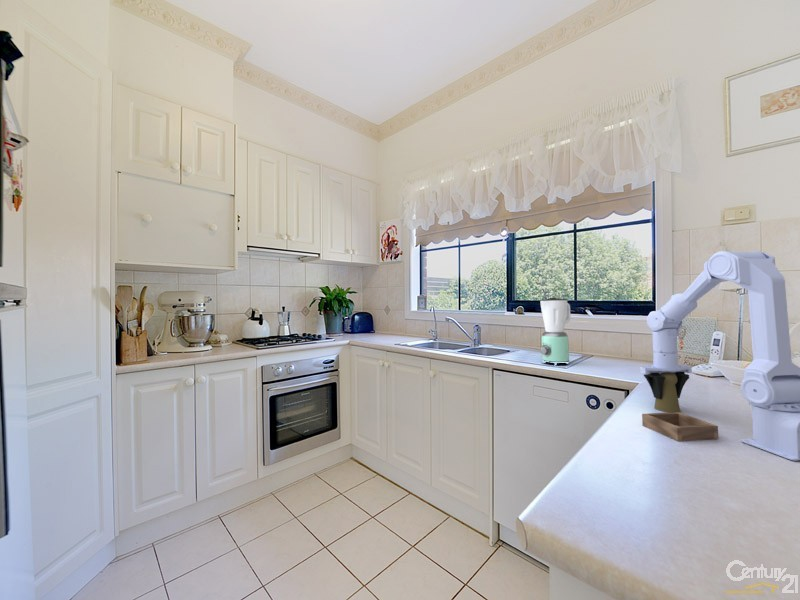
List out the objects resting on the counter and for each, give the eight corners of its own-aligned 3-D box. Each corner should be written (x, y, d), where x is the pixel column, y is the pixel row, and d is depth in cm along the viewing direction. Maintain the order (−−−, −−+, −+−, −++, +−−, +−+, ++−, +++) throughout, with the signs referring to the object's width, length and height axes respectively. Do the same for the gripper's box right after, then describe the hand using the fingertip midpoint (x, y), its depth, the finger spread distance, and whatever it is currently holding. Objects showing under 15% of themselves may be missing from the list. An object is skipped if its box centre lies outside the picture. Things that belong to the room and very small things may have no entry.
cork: (685, 413, 94) (684, 374, 94) (661, 412, 95) (660, 374, 95) (672, 406, 99) (671, 370, 100) (649, 406, 101) (648, 370, 101)
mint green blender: (553, 367, 165) (551, 297, 166) (533, 363, 177) (531, 298, 178) (580, 364, 172) (578, 297, 173) (559, 360, 184) (557, 298, 185)
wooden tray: (718, 439, 76) (717, 426, 76) (677, 441, 75) (677, 427, 75) (678, 423, 86) (678, 412, 86) (642, 425, 85) (642, 413, 85)
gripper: (675, 349, 102) (677, 393, 102) (631, 350, 101) (632, 395, 101) (697, 352, 95) (699, 399, 95) (650, 354, 94) (652, 401, 94)
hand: (666, 397), depth 97 cm, fingers closed on cork, 5 cm apart
